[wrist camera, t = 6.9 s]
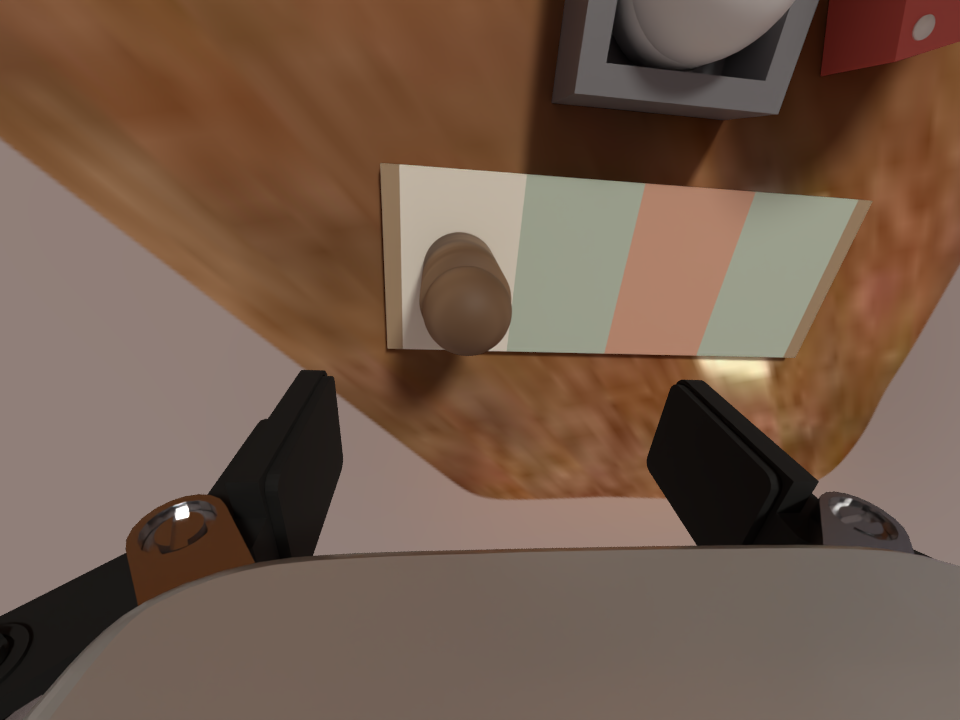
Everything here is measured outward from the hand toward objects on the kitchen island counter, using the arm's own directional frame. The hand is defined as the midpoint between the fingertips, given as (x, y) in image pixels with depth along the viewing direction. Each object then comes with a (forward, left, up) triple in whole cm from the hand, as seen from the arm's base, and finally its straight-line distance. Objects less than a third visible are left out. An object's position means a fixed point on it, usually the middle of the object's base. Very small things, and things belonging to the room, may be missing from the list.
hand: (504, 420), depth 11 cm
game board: (+10, 0, -16) cm, 19 cm away
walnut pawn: (-1, 0, -15) cm, 15 cm away
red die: (+20, +14, -16) cm, 29 cm away
